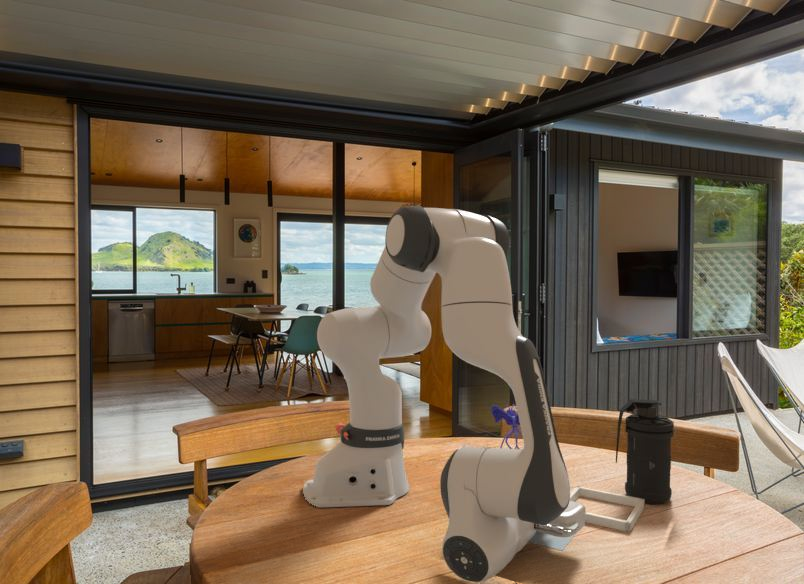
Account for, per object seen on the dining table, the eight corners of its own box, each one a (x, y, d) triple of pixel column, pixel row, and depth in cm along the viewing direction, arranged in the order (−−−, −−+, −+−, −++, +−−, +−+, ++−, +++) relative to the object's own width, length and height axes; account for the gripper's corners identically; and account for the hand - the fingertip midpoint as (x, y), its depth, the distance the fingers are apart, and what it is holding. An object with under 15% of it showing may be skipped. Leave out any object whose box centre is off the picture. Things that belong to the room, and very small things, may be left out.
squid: (487, 505, 147) (497, 460, 135) (469, 393, 173) (476, 348, 162) (546, 504, 147) (561, 459, 136) (519, 393, 174) (529, 348, 162)
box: (629, 540, 106) (630, 523, 105) (556, 523, 113) (556, 507, 112) (644, 514, 117) (644, 499, 116) (576, 500, 124) (576, 486, 123)
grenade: (676, 507, 120) (679, 407, 119) (618, 503, 122) (620, 404, 121) (666, 490, 129) (668, 397, 128) (612, 486, 131) (613, 395, 130)
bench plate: (562, 559, 99) (562, 550, 99) (483, 538, 106) (483, 530, 106) (585, 528, 111) (586, 520, 110) (513, 511, 118) (513, 503, 118)
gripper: (572, 514, 91) (596, 486, 103) (452, 487, 102) (486, 465, 114) (572, 555, 92) (596, 522, 103) (451, 524, 103) (485, 498, 114)
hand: (537, 492), depth 109 cm, fingers closed on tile, 4 cm apart
